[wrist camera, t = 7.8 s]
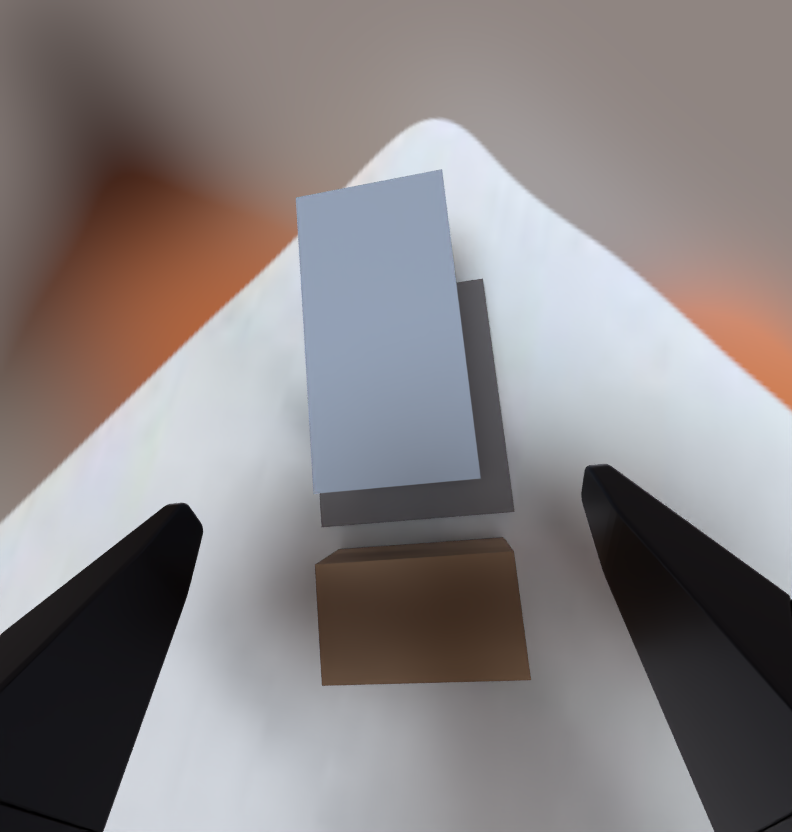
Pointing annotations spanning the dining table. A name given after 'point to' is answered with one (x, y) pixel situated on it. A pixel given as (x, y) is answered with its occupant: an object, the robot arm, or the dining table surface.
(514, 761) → the dining table surface
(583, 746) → the dining table surface
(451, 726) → the dining table surface
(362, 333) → the slate-blue block
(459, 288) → the charcoal felt mat
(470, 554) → the walnut plinth
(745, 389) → the dining table surface
